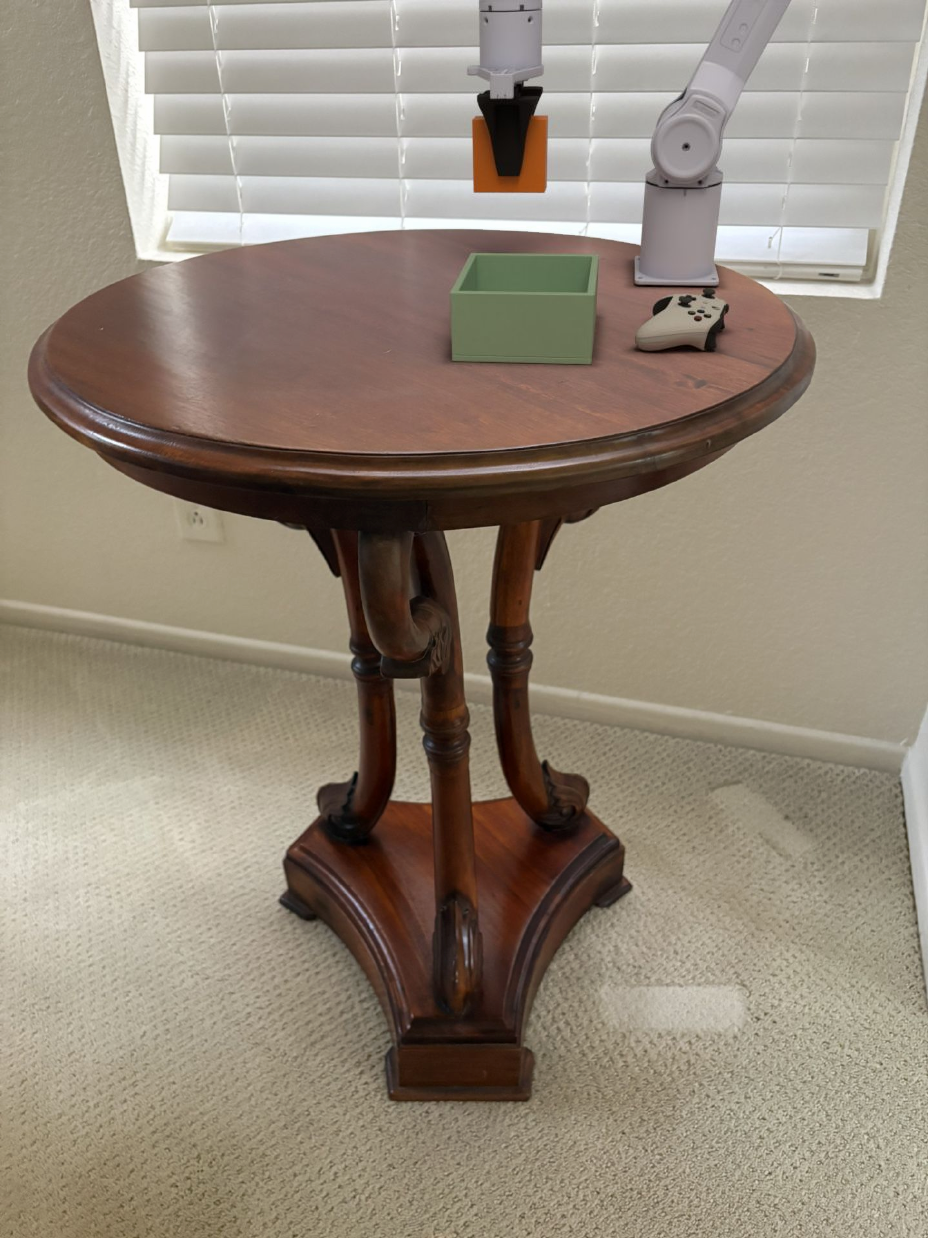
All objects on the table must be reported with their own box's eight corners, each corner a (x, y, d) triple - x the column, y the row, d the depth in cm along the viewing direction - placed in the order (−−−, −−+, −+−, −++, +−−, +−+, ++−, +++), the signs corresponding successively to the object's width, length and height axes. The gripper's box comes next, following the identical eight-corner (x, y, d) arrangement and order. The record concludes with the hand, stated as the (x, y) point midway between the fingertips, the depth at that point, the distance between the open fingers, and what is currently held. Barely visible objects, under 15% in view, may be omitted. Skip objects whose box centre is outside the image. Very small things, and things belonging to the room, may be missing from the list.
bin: (472, 315, 91) (470, 252, 88) (596, 317, 90) (599, 253, 87) (452, 361, 81) (449, 292, 78) (591, 364, 80) (594, 294, 77)
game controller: (649, 306, 89) (703, 259, 85) (688, 351, 90) (743, 308, 86) (627, 340, 81) (685, 291, 78) (669, 390, 82) (729, 343, 79)
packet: (476, 187, 100) (475, 115, 97) (546, 187, 100) (548, 114, 96) (473, 192, 99) (471, 119, 95) (544, 192, 98) (546, 118, 94)
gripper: (477, 6, 97) (480, 159, 105) (454, 15, 85) (458, 187, 93) (550, 4, 96) (548, 159, 104) (537, 13, 84) (535, 187, 92)
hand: (510, 172), depth 98 cm, fingers closed on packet, 2 cm apart
